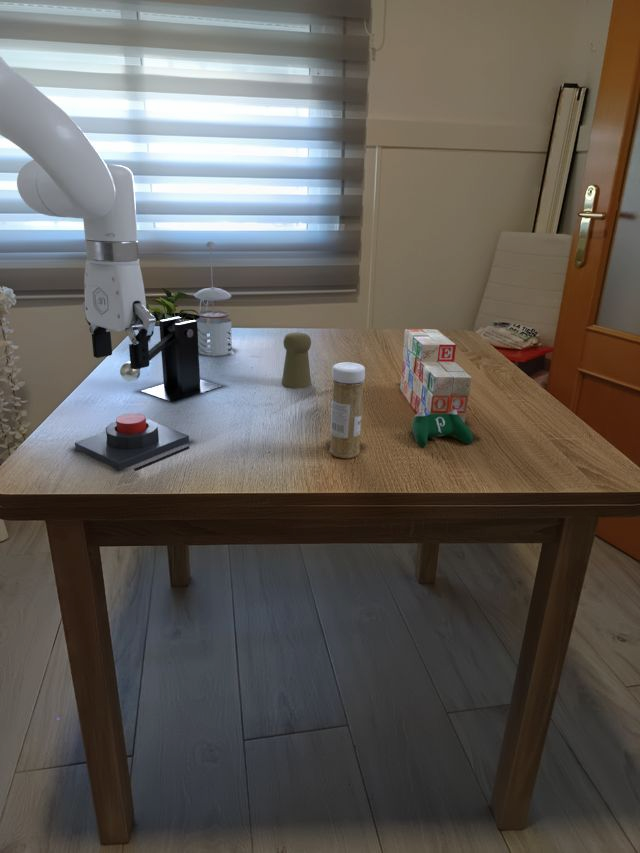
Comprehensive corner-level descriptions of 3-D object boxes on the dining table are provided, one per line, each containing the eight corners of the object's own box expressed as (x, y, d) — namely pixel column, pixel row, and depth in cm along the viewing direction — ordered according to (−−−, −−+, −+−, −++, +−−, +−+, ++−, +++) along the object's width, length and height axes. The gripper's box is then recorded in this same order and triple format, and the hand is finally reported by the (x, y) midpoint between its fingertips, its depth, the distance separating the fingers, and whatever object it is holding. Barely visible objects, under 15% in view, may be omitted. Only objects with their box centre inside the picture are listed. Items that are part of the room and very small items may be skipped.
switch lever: (133, 387, 95) (124, 372, 93) (121, 383, 97) (112, 368, 95) (193, 335, 103) (186, 320, 101) (181, 332, 104) (174, 317, 102)
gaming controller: (466, 449, 92) (458, 415, 94) (476, 441, 89) (467, 405, 91) (412, 453, 90) (405, 418, 92) (420, 444, 87) (412, 408, 89)
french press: (201, 363, 125) (195, 243, 116) (184, 350, 134) (178, 238, 125) (243, 358, 130) (241, 243, 120) (224, 346, 139) (220, 238, 129)
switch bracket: (173, 408, 99) (168, 330, 94) (140, 397, 104) (133, 321, 99) (223, 391, 108) (220, 319, 103) (190, 381, 113) (186, 312, 108)
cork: (300, 396, 108) (302, 338, 103) (274, 390, 110) (274, 333, 106) (317, 388, 112) (319, 332, 108) (292, 382, 115) (293, 328, 111)
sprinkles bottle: (365, 456, 84) (371, 368, 79) (338, 461, 82) (343, 372, 77) (349, 444, 88) (354, 359, 83) (323, 449, 86) (326, 363, 81)
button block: (120, 478, 76) (117, 450, 74) (76, 456, 81) (72, 430, 79) (189, 448, 85) (188, 423, 83) (146, 431, 90) (144, 407, 88)
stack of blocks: (464, 431, 95) (474, 358, 90) (427, 431, 94) (435, 358, 89) (430, 389, 114) (437, 328, 110) (399, 389, 114) (404, 327, 109)
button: (129, 437, 79) (127, 426, 78) (111, 430, 81) (109, 418, 80) (152, 429, 82) (151, 417, 81) (134, 422, 84) (133, 411, 83)
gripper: (58, 248, 89) (69, 356, 95) (127, 259, 80) (135, 377, 86) (100, 247, 95) (109, 348, 101) (169, 257, 86) (174, 368, 92)
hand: (121, 361), depth 94 cm, fingers open, 9 cm apart
